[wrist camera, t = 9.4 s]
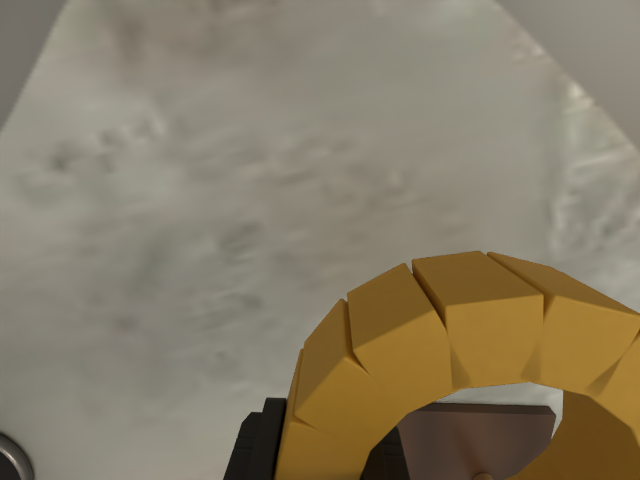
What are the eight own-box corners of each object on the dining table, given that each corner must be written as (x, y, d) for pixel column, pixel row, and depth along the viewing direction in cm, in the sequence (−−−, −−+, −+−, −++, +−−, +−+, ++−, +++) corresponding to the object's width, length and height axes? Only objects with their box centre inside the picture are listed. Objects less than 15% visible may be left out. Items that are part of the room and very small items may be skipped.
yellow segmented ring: (228, 432, 14) (193, 528, 10) (440, 176, 11) (491, 188, 7) (464, 575, 15) (503, 701, 12) (705, 386, 12) (851, 479, 9)
